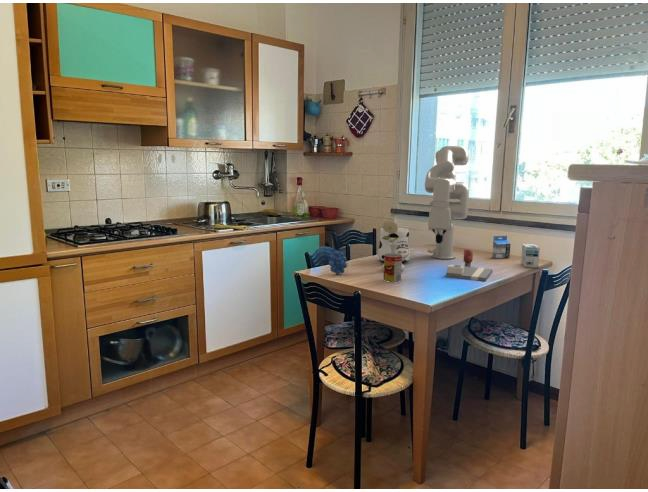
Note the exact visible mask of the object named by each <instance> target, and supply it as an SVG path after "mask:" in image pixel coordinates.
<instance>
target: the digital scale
mask: <svg viewBox="0 0 648 492" xmlns="http://www.w3.org/2000/svg"><path fill="white" fill-rule="evenodd" d="M463 266H464V273H463V274H454V273H447V272H446V273H445V277H446V278H454V279H455V278H456V279H463V280H473V281H482V282H486V281H487V280H488V279H489V277H490V276H491V274H492V273H493V269H492V268H485V267H484V268H483V267H475V266H474V267H473V266H471V267H466V266H465V265H463Z"/></svg>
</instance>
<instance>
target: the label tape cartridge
mask: <svg viewBox="0 0 648 492" xmlns="http://www.w3.org/2000/svg"><path fill="white" fill-rule="evenodd" d="M491 253H492V254H491V257H492V258H494V259H495V260H496V259H510V255H511V243H510V242H509V240H508V236H507V235H493V242H492V252H491Z"/></svg>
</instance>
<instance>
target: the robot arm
mask: <svg viewBox="0 0 648 492" xmlns="http://www.w3.org/2000/svg"><path fill="white" fill-rule="evenodd" d="M435 162H436V164H435V165H434V166H432V167H431V168H430V169H429V170H428V171H427V172H426V175H425V179H424V180H425V181H424V190H425V191H426V192H427V193H429V194H432V201H429V205H431V207H430V209H429V215H428V223H427V225H428V228H427V230H428V231H431V232H433V233H434V235H435V245H434V246H435V247H434V248H433V249H432V248H428V249H427V252H428V253H431V254H432V255H431V257H432V258H434V259H439V260H452V259H455V258H456V255H455V254H453V246H454V230H455V229H454V224H453V223H452V220H465V219H467V217H468V214H469V200H470V199H469V198H470V197H469V196H470V190H469V184H468V183H467V182H462V181H456V175H457V174H456V171H455V170H454V168H455V166H466V165H467V164H468V162H469V151H468V148H467V147H466V146H464V145H447V146H443V147H441V148H440V149H439V150H437V151H436V153H435ZM450 200H459V201H450Z"/></svg>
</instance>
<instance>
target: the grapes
mask: <svg viewBox="0 0 648 492" xmlns="http://www.w3.org/2000/svg"><path fill="white" fill-rule="evenodd" d="M328 265H329V266H330V269H329V270H330V271H331V272H332V273H334V274H335V273H336V274H335V275H337V274H339V275H340V274H344V273H345V269H346V268H348V264H347V257H346V256H345V255H344V252H343V251H338V250H334V251H333V253H331V254H330V255H329V260H328Z"/></svg>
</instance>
